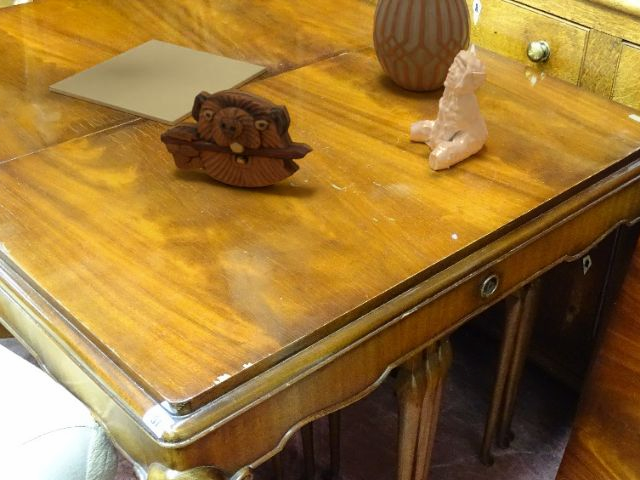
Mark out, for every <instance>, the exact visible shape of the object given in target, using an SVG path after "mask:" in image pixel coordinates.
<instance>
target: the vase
mask: <svg viewBox="0 0 640 480" xmlns="http://www.w3.org/2000/svg"><path fill="white" fill-rule="evenodd" d="M471 27H472V24H471V14H470V9H469V6H468V2H467V0H378V1H377V4H376V6H375V10H374V15H373V23H372V40H373V48H374V52H375V55H376V58H377V61H378V63H379V65H380V67H381V68H382V70H383V71H384V73H385V74H386V75H387V76H388V77H389V78H390V79H391V80H392V81H393V82H394V83H395V84H396V85H398V86H399V87H400V88H402V89H405V90H408V91H411V92H412V91H413V92H431V91H435V90H439V89H441V88H442V87H443V86H444V82H445V81H446V77H447V74H448V73H449V68H451V65H452V64H453V63H454V58H455V57H456V56H457V54H458V53H459V52H460V51H461V50H465V51H467V50H469V48H470V43H471V34H472V33H471V32H472V31H471V29H472V28H471Z"/></svg>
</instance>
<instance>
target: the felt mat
mask: <svg viewBox="0 0 640 480" xmlns="http://www.w3.org/2000/svg"><path fill="white" fill-rule="evenodd" d="M267 71H268V70H267V67H266V66H262V65H259V64H255V63H250V62H246V61H242V60H238V59H233V58H231V57H226V56H222V55H218V54H214V53H211V52H206V51H202V50H199V49H194V48H190V47H187V46H181V45H178V44H175V43H174V44H173V43H169V42H165V41H162V40H157V39H150V40H148V41H146V42H144V43H142V44H139V45H138V46H135V47H132V48H130V49H127V50H126V51H124V52H121V53H119V54H118V55H115V56H113V57H111V58H109V59H106V60H104V61H102V62H100V63H97V64H95V65H92V66H91V67H88V68H87V69H84V70H82V71H80V72H77V73H75V74H73V75H71V76H68V77H66V78H63V79H62V80H60V81H57V82H55V83H53V84H51V85H49V86H48V89H49V91H50V92H53V93H56V94H60V95H63V96H67V97H71V98H74V99H78V100H81V101H85V102H88V103H92V104H95V105H99V106H102V107H104V108H109V109H112V110H116V111H120V112H123V113H126V114H130V115H134V116H137V117H140V118H144V119H147V120H151V121H154V122H158V123H162V124H165V125H168V126H170V127H172V126H176V125H178V124H179V123H181V122H184V121H185V120H186V119H188V118H190V117H192V107H193V104H194V100H195V97H196V96H197V95H198V94H199V93H200V92H202V91H206V92H208V93H209V94H213V93H216V92H219V91H222V90H228V89H237V90H238V89H239V88H241V87H242V86H244V85H246V84H247V83H249V82H251V81H253V80H254V79H256V78H258V77H259V76H261V75H263V74H265V73H266V72H267Z"/></svg>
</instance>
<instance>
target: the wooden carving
mask: <svg viewBox="0 0 640 480" xmlns="http://www.w3.org/2000/svg"><path fill="white" fill-rule="evenodd" d="M191 117H192V118H193V120H194V121H195V122H193V121H181V122H179V123H177V124H176V125H174V126H170V127H169V128H167V130H166V131H165V132H163V133H161V134H160V141H161V143H163V144H164V146H165V148H166V150H167V152H168V153H169V154H171V155H172V159H173V162H174V165H175V166H176V168H177V169H179V170H182V171H195V170H199V169H202V172H204V173H205V174H206V175H208V176H209V177H210V178H212V179H214V180H216V181H218V182H222V183H223V184H227V185H231V186H233V187H243V188H244V187H245V188H255V187H256V188H257V187H258V188H260V187H267V186H271V185H273V184H274V185H275V184H277V183H279V182H280V183H281V182H282V181H284V180H287V179H288V178H290V177H292V176H294V174H295V173H297V172H298V171H299V170H300V169H301V167H300V165H299V164H298V163H296V161H294V160H302V159H304V158H305V157H306V156H307V155H308V154H309V153H311V152H314V149H313V147H312V146H311V145H310V144H308V143H305V142H297V141H293V139H292V137H291V135H290V133H289V128H290V126H291V121H292V120H291V116H290V113H289V110H288V108H287V106H286V105H285V104H276V103H275V102H273V101H271V100H270V99H269V98H267V97H265V96H262V95H259V94H257V93H255V92H252V91H249V90H245V89H238V88H237V89H228V90H222V91H219V92H216V93H213V94H209V93H208V92H206V91H202V92H200V93H199V94H198V95H197V96H196V97H195V100H194V104H193V107H192V115H191Z"/></svg>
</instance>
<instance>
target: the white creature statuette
mask: <svg viewBox="0 0 640 480" xmlns="http://www.w3.org/2000/svg"><path fill="white" fill-rule="evenodd" d="M486 81H487V73H486V66H485V65H484V64H483V60H482V59H480V58H478V56H477V55H475V54H473V53H472V52H471V51H470V50H469V49H468V50H467V51H465V50H461V51H460V52H459V53H458V54H457V56H456V57H455V58H454V63H453V64H452V65H451V68H449V73H448V74H447V77H446V81H445V82H444V85H443V86H444V91H443V92H442V96H441V97H440V99H439V100H438V112H437V114H436V115H437V117H436V119H433V120H432V119H431V120H430V119H423V120H422V119H420V120H418V121H415V122H412V123H411V122H410V125H409V126H410V127H409V137H410V138H409V139H410V141H413V142H415V143H416V142H417V143H424V144H425V145H426V146H428V147H429V149H430V151H431V152H430V154H429V156H428V165H429V167H430V169H432V170H434V171H437V170H438V171H441V170H445V169H450V167H451V166H454V165H455V164H458V163H459V162H463V161H464V160H466V159H468V158H469V157H471V156H473V155H475V154H477V153H478V152H479V150H481V149H483V145H484V144H485V143H486V141H487V139H488V137H489V134H490V133H489V130H488V128H487V124H486V122H485V118H484V116H483V115H482V112H481V111H480V109H481V107H480V105H479V101H478V99H479V98H478V97H477V96H476V95H477V94H475V90H477V89H478V88H479V86H481V85H484V83H485V82H486Z"/></svg>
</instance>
